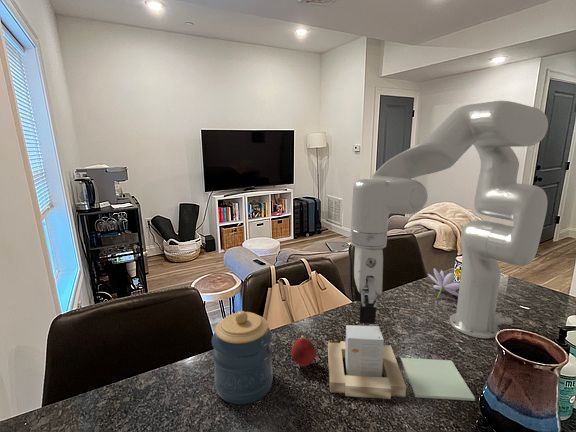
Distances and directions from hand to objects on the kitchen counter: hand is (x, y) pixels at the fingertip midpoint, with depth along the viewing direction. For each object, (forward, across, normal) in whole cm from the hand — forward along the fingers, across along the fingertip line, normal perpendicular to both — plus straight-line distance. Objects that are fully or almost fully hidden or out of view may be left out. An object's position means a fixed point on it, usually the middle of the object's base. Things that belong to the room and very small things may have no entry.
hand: (363, 311), depth 71 cm
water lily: (+15, +42, -36) cm, 57 cm away
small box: (+16, 0, -1) cm, 16 cm away
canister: (+16, -6, +26) cm, 31 cm away
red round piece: (+16, +2, +13) cm, 21 cm away
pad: (+15, 0, -17) cm, 23 cm away
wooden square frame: (+16, 0, -1) cm, 16 cm away
